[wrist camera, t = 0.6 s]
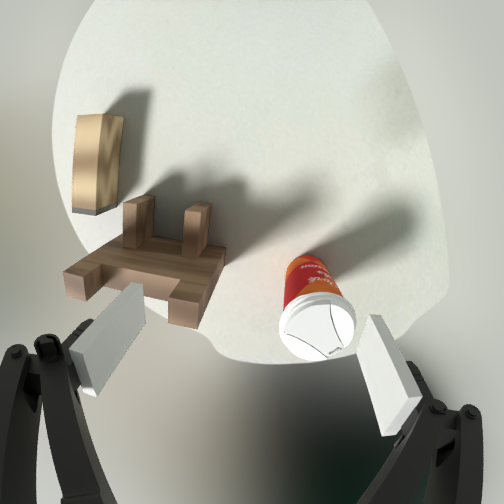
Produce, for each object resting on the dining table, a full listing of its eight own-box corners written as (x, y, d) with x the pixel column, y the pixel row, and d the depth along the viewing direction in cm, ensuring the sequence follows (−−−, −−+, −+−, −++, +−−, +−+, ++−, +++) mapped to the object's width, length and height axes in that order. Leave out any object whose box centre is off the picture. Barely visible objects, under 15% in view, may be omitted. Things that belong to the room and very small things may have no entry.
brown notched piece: (126, 193, 39) (58, 218, 24) (231, 206, 39) (203, 241, 24) (125, 249, 42) (66, 295, 27) (223, 267, 42) (197, 329, 27)
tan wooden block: (100, 117, 36) (77, 115, 30) (124, 117, 36) (102, 113, 30) (94, 204, 40) (72, 212, 35) (116, 206, 40) (95, 215, 35)
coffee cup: (344, 278, 41) (372, 337, 27) (299, 308, 44) (308, 375, 29) (312, 235, 40) (331, 281, 25) (266, 268, 42) (261, 328, 28)
